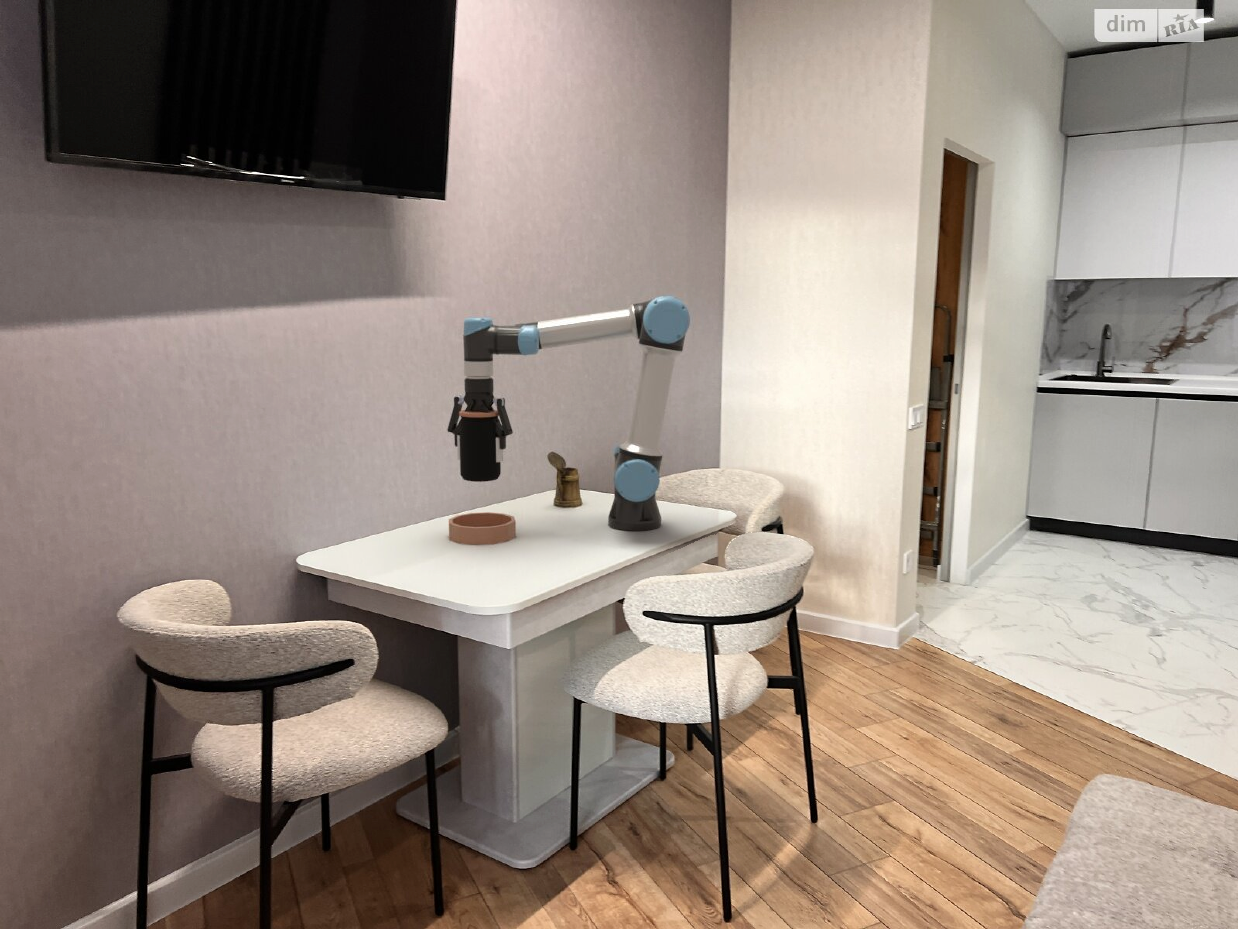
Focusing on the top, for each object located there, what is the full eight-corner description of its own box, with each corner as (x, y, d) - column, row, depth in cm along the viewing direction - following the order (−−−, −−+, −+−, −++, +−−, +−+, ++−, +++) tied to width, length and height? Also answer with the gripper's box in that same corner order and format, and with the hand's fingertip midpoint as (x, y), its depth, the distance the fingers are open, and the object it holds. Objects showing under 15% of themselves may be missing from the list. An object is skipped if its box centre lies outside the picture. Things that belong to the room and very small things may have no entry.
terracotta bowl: (525, 531, 258) (525, 515, 257) (497, 547, 242) (497, 530, 241) (468, 526, 264) (467, 510, 263) (437, 541, 247) (436, 524, 246)
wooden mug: (539, 508, 286) (539, 450, 283) (563, 500, 298) (563, 444, 294) (564, 511, 282) (564, 452, 279) (587, 503, 293) (587, 446, 290)
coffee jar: (504, 475, 255) (503, 409, 251) (495, 482, 244) (494, 414, 241) (466, 474, 256) (464, 408, 252) (455, 481, 245) (454, 413, 242)
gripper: (525, 377, 245) (526, 460, 249) (446, 374, 252) (448, 455, 256) (513, 379, 238) (514, 465, 242) (432, 376, 245) (434, 459, 249)
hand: (480, 460), depth 249 cm, fingers closed on coffee jar, 11 cm apart
